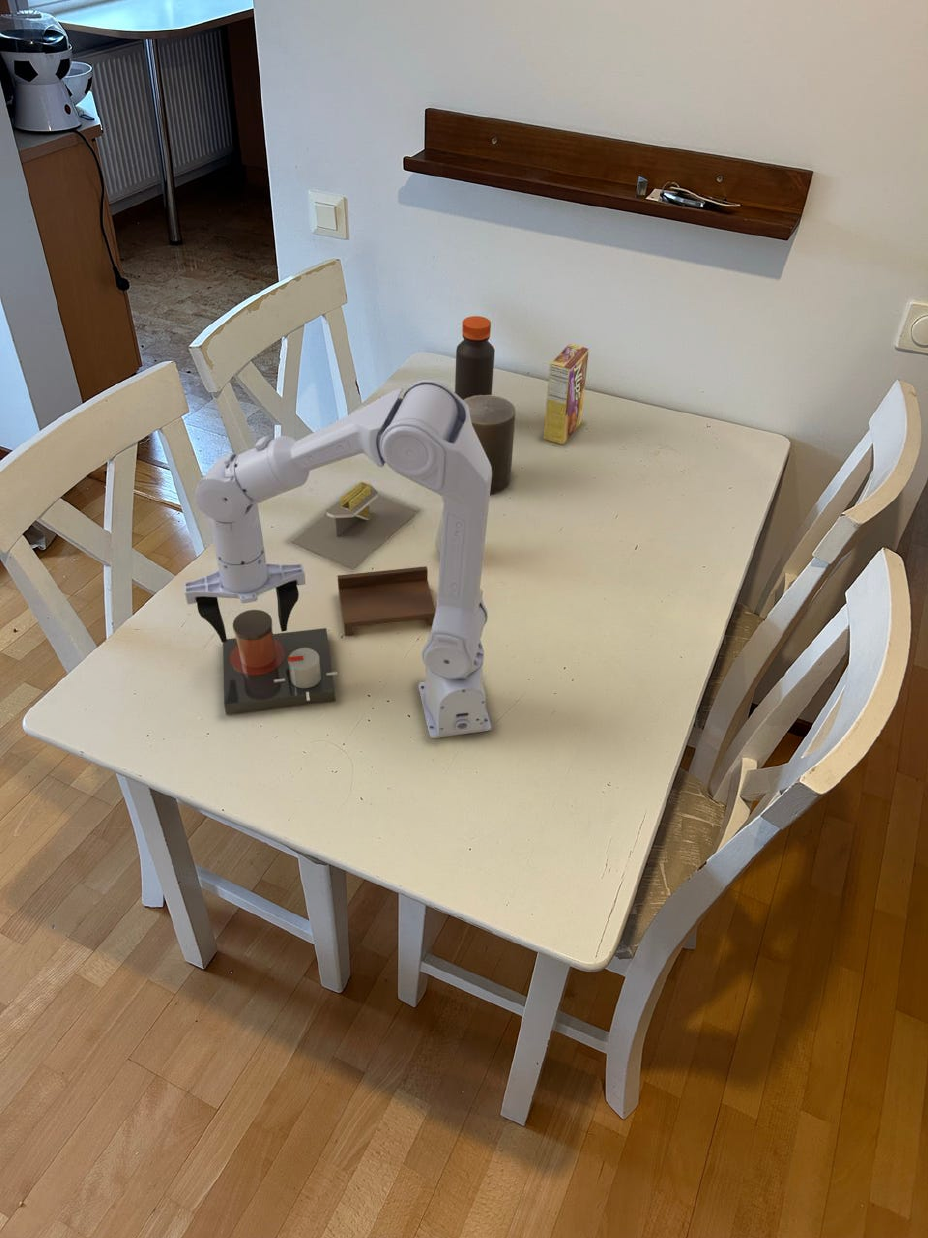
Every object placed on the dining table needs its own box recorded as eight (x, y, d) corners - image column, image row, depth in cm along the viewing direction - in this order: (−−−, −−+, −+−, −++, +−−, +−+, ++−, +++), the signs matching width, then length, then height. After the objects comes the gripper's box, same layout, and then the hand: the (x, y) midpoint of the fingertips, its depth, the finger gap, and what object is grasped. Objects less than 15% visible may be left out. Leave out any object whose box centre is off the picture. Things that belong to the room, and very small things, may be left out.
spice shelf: (436, 625, 131) (436, 602, 128) (345, 636, 128) (343, 612, 125) (426, 589, 136) (426, 566, 133) (339, 598, 134) (337, 575, 131)
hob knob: (319, 664, 121) (317, 644, 119) (322, 686, 118) (320, 666, 116) (289, 668, 121) (286, 647, 118) (291, 690, 118) (288, 669, 115)
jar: (284, 652, 123) (280, 619, 119) (258, 674, 120) (253, 641, 116) (256, 637, 125) (251, 604, 121) (230, 658, 122) (224, 625, 117)
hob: (341, 707, 119) (340, 695, 117) (226, 721, 116) (224, 710, 115) (331, 637, 128) (330, 626, 127) (224, 649, 126) (222, 638, 124)
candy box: (560, 417, 174) (569, 342, 164) (581, 423, 173) (591, 348, 162) (541, 439, 168) (549, 362, 158) (562, 445, 167) (572, 368, 156)
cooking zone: (286, 672, 120) (286, 671, 120) (230, 678, 119) (230, 678, 119) (283, 634, 125) (283, 634, 125) (229, 640, 124) (229, 640, 124)
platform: (418, 511, 151) (418, 477, 146) (352, 569, 139) (350, 535, 135) (359, 487, 155) (357, 454, 150) (291, 541, 143) (287, 507, 139)
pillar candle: (506, 498, 154) (513, 420, 144) (449, 491, 155) (452, 413, 145) (513, 466, 161) (520, 390, 151) (458, 460, 162) (461, 383, 152)
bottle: (496, 421, 172) (503, 320, 158) (477, 437, 168) (483, 334, 154) (466, 410, 175) (470, 309, 161) (446, 425, 170) (449, 323, 157)
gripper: (180, 581, 105) (199, 663, 115) (306, 560, 109) (314, 642, 118) (175, 544, 110) (194, 626, 119) (295, 525, 114) (304, 606, 123)
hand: (253, 631), depth 119 cm, fingers open, 7 cm apart
